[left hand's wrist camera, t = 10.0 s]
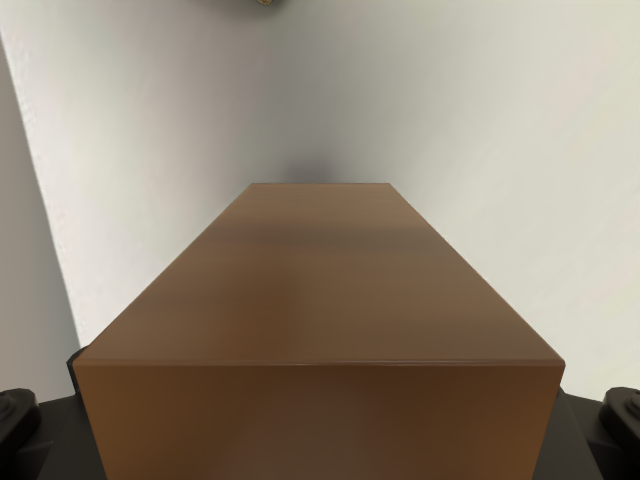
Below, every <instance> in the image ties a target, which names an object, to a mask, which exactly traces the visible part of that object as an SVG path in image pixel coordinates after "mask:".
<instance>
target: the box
mask: <svg viewBox="0 0 640 480" xmlns="http://www.w3.org/2000/svg"><path fill="white" fill-rule="evenodd" d="M72 366H73V369H74V373H75V376H76V379H77V382H78V386H79V389H80V392H81V395H82V399H83V402H84V405H85V408H86V412H87V415H88V418H89V421H90V425H91V428H92V431H93V435H94V438H95V441H96V444H97V448H98V451H99V454H100V457H101V461H102V464H103V467H104V470H105V474H106V477H107V480H532V476H533V473H534V469H535V466H536V463H537V459H538V456H539V453H540V449H541V446H542V443H543V439H544V436H545V433H546V429H547V426H548V423H549V419H550V416H551V413H552V409H553V406H554V403H555V399H556V396H557V393H558V389H559V386H560V383H561V379H562V376H563V373H564V369H565V366H566V365H565V361H564V360H563V359H562V358H561V357H560V356H559V355H558V354H557V353H556V352H555V350H554V349H553V348H552V347H551V346H550V345H549V344H548V343H547V342H546V341H545V340H544V339H543V338H542V337H541V336H540V335H539V334H538V333H537V332H536V331H535V330H534V329H533V328H532V327H531V326H530V325H529V324H528V323H527V322H526V321H525V320H524V319H523V318H522V317H521V316H520V315H519V314H518V313H517V312H516V311H515V310H514V309H513V308H512V307H511V306H510V305H509V304H508V303H507V302H506V301H505V300H504V299H503V298H502V297H501V296H500V295H499V294H498V293H497V292H496V291H495V290H494V289H493V288H492V287H491V286H490V285H489V284H488V283H487V282H486V281H485V280H484V279H483V278H482V277H481V276H480V275H479V274H478V273H477V272H476V271H475V270H474V269H473V268H472V267H471V266H470V265H469V264H468V263H467V262H466V261H465V259H464V258H463V257H462V256H461V255H460V254H459V253H458V252H457V251H456V250H455V249H454V248H453V247H452V246H451V245H450V244H449V243H448V242H447V241H446V240H445V239H444V238H443V237H442V236H441V235H440V234H439V233H438V232H437V231H436V230H435V229H434V228H433V227H432V226H431V225H430V224H429V223H428V222H427V221H426V220H425V219H424V218H423V217H422V216H421V215H420V214H419V213H418V212H417V211H416V210H415V209H414V208H413V207H412V206H411V205H410V204H409V203H408V202H407V201H406V200H405V199H404V198H403V197H402V196H401V195H400V194H399V193H398V192H397V191H396V190H395V189H394V188H393V187H392V186H391V185H390V184H389V183H252V184H250V185H249V186H248V187H247V188H246V189H245V190H244V191H243V192H242V193H241V194H240V195H239V196H238V197H237V198H236V199H235V200H234V201H233V202H232V203H231V204H230V205H229V206H228V207H227V208H226V209H225V210H224V211H223V212H222V213H221V214H220V215H219V216H218V217H217V218H216V219H215V220H214V221H213V222H212V223H211V224H210V225H209V226H208V227H207V228H206V229H205V230H204V231H203V232H202V233H201V234H200V235H199V236H198V237H197V238H196V239H195V240H194V241H193V242H192V243H191V244H190V245H189V246H188V247H187V248H186V249H185V250H184V251H183V252H182V253H181V254H180V255H179V256H178V257H177V258H176V259H175V260H174V261H173V262H172V263H171V264H170V265H169V266H168V267H167V268H166V269H165V270H164V271H163V272H162V273H161V274H160V275H159V276H158V277H157V278H156V279H155V280H154V281H153V282H152V283H151V284H150V285H149V286H148V287H147V288H146V289H145V290H144V291H143V292H142V293H141V294H140V295H139V296H138V297H137V298H136V299H135V300H134V301H133V302H132V303H131V304H130V305H129V306H128V307H127V308H126V309H125V310H124V311H123V312H122V313H121V314H120V315H119V316H118V317H117V318H116V319H115V320H114V321H113V322H112V323H111V324H110V325H109V326H108V327H107V328H106V329H105V330H104V331H103V332H102V333H101V334H100V335H99V336H98V337H97V338H96V339H95V340H94V341H93V342H92V343H91V344H90V345H89V346H87V347H86V348H85V349H84V350H83V351H82V352H81V353H80V354H79V355H78V356H77V357H76V358H75V359H74V361H73V365H72Z"/></svg>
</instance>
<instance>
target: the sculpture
mask: <svg viewBox="0 0 640 480" xmlns="http://www.w3.org/2000/svg"><path fill="white" fill-rule="evenodd" d="M257 1H258V2H260V3H262V4H264V5H269V4H270V3H271V2H272V1H273V0H257Z"/></svg>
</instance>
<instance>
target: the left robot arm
mask: <svg viewBox="0 0 640 480" xmlns="http://www.w3.org/2000/svg"><path fill="white" fill-rule="evenodd" d="M88 346H89V345H88ZM86 347H87V346H85V347H83V348H82V349H80V350H79V351H77V352H76V353H74V354H73V355H72V356H71V357H70V359H69V360H68V361H67V362H66V363H67V367H68V370H69V373H70V376H71V379H72V383H73V386H74V389H75V392H76V393H75V395H73V396H69V397H65V398H61V399H56V400H52V401H47V402H43V403H38V402H37V399H36V396H35V394H34V393H33V392H32V391H31V390H29V389H21V388H18V389H12V390H6V391H3V392H0V480H107V477H106V474H105V470H104V467H103V464H102V461H101V457H100V454H99V451H98V448H97V444H96V441H95V438H94V435H93V431H92V428H91V425H90V421H89V418H88V415H87V412H86V408H85V405H84V402H83V399H82V395H81V392H80V389H79V386H78V382H77V379H76V376H75V373H74V369H73V366H72V365H73V361H74V359H75V358H76V357H77V356H78V355H79V354H80V353H81V352H82V351H83V350H84V349H85V348H86ZM532 480H640V390H637V389H632V388H626V387H615V388H611V389H610V390H608V391H607V392H606V394H605V397H604V400H603V402H600V401H595V400H591V399H586V398H582V397H578V396H573V395H569V394H566V393H565V392H564V391H563V390H562V388H561V387H560V386H559V389H558V393H557V396H556V399H555V403H554V406H553V409H552V413H551V416H550V419H549V423H548V426H547V429H546V433H545V436H544V439H543V443H542V446H541V449H540V453H539V456H538V459H537V463H536V466H535V469H534V473H533V476H532Z"/></svg>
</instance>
